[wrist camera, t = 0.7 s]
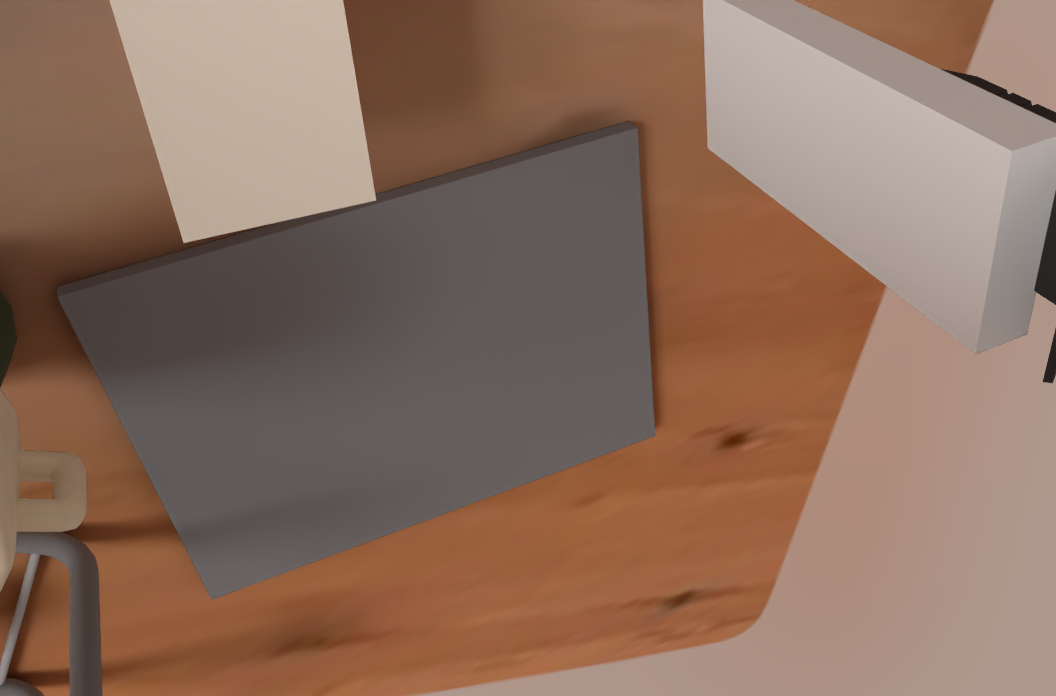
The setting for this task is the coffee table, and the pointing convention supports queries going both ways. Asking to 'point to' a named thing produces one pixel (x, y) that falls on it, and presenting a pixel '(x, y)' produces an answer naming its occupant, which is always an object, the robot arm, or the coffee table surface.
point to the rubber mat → (382, 355)
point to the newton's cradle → (84, 612)
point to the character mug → (31, 472)
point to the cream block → (248, 108)
